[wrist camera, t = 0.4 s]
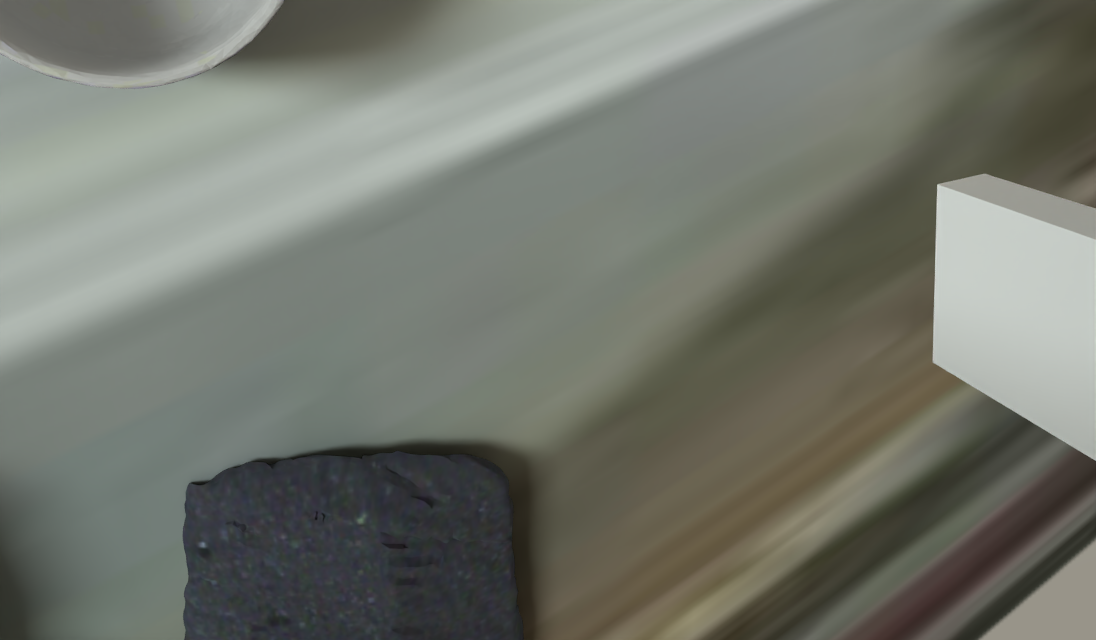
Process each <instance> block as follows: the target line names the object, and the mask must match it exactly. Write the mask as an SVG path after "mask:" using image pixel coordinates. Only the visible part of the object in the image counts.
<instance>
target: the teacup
mask: <svg viewBox="0 0 1096 640" xmlns="http://www.w3.org/2000/svg"><path fill="white" fill-rule="evenodd" d="M283 2H284V0H0V54H1V55H3V56H5V57H7V58H9V59H11V60H13V61H15V62H17V63H19V64H21V65H23V66H25V67H27V68H30V69H32V70H35V71H37V72H40V73H42V74H45V75H48V76H51V77H54V78H57V79H61V80H66V81H71V82H75V83H79V84H83V85H89V86H96V87H106V88H121V89H136V88H147V87H155V86H161V85H166V84H170V83H174V82H177V81H180V80H183V79H187V78H190V77H193V76H196V75H199V74H201V73H203V72H205V71H208V70H210V69H212V68H214V67H216V66H218V65H219V64H221V63H223V62H224V61H226V60H227V59H229V58H231V57H232V56H234V55H236V54H237V53H238V52H239V51H240V50H242V49H243V48H244V47H245V46H247V45H248V44H249V43H250V42H251V41H252V40H253V39H254V38H255V37H256V36H257V35H258V34H259V33H260V32H261V31H262V30H263V29H264V28H265V27H266V26H267V25H268V24H269V22H270V21H271V19H272V18H273V17H274V15H275V14H276V13H277V12H278V10H279V9H280V8H281V6H282V4H283Z"/></svg>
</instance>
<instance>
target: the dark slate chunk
mask: <svg viewBox="0 0 1096 640" xmlns="http://www.w3.org/2000/svg"><path fill="white" fill-rule="evenodd" d="M185 512H186V518H185V523H184V527H183V543H184V549H185V553H186V560H187V567H188V575H189V579H188V583H187V585H186V587H185V591H184V597H185V601H186V603H185V609H184V613H183V620H184V625H185V629H186V633H185V640H524V637H523V622H522V618H521V615H520V614H519V608H518V605H517V594H518V589H517V586H516V578H515V576H514V573H515V561H514V554H513V550H512V529H513V513H514V511H513V502H512V499H511V498H510V496H509V482H508V479H507V477H506V476H505V474H504V473H503V471H502V470H501V469H500V468H499V467H498V466H496V465H495V464H493V463H492V462H490V461H488V460H486V459H483V458H478V457H475V456H472V455H464V454H455V455H446V456H440V455H414V454H408V453H404V452H400V451H395V452H394V453H378V454H375V455H371V456H363V457H362V459H360V458H356V457H345V456H330V455H311V456H308V457H302V458H297V459H295V460H292V459H287V460H281V461H278V462H277V463H275V464H272V465H268V464H266V463H265V462H248V463H245V464H243V465H242V466H240V467H237V468H230V469H226V470H224V471H222V472H221V473H219V474H218V475H216V476H215V477H214V478H213V479H212V480H211V481H209V482H208V483H206V484H204V485H194V484H191V483H189V485H188V487H187V490H186V501H185Z"/></svg>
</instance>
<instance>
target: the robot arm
mask: <svg viewBox="0 0 1096 640" xmlns="http://www.w3.org/2000/svg"><path fill="white" fill-rule="evenodd" d="M933 363H935V364H937V365H938V366H940V367H942V368H943V369H945V370H946V371H948V372H950V373H951V374H953V375H955V376H956V377H958V378H960V379H961V380H963V381H965V382H966V383H968V384H970V385H971V386H973V387H975V388H976V389H978V390H980V391H981V392H983V393H985V394H986V395H988V396H990V397H991V398H993V399H994V400H996V401H998V402H999V403H1001V404H1003V405H1004V406H1006V407H1008V408H1009V409H1011V410H1013V411H1014V412H1016V413H1018V414H1019V415H1021V416H1023V417H1024V418H1026V419H1028V420H1029V421H1031V422H1033V423H1034V424H1036V425H1037V426H1039V427H1041V428H1042V429H1044V430H1046V431H1047V432H1049V433H1051V434H1052V435H1054V436H1056V437H1057V438H1059V439H1061V440H1062V441H1064V442H1066V443H1067V444H1069V445H1071V446H1072V447H1074V448H1076V449H1077V450H1079V451H1081V452H1082V453H1084V454H1085V455H1087V456H1089V457H1090V458H1092V459H1094V460H1095V461H1096V209H1095V208H1092V207H1089V206H1086V205H1083V204H1080V203H1076V202H1073V201H1070V200H1067V199H1064V198H1060V197H1057V196H1054V195H1051V194H1048V193H1044V192H1041V191H1038V190H1035V189H1032V188H1029V187H1025V186H1022V185H1019V184H1016V183H1013V182H1009V181H1006V180H1003V179H1000V178H997V177H993V176H990V175H987V174H981V175H977V176H972V177H968V178H963V179H959V180H954V181H950V182H946V183H941V184H937V217H936V255H935V294H934V332H933Z"/></svg>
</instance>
